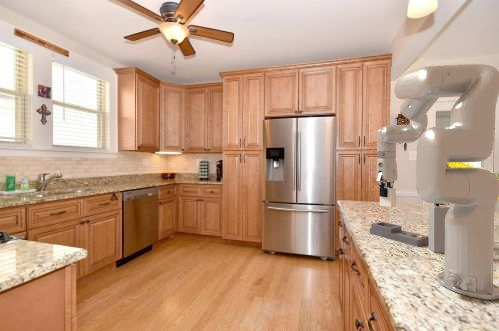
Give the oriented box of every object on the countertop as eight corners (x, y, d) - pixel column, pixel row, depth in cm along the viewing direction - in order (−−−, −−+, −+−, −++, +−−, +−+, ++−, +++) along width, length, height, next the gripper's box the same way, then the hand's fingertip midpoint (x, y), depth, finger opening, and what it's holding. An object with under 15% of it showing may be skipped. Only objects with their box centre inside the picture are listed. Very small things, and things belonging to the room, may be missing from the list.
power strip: (417, 247, 93) (417, 235, 93) (369, 234, 110) (369, 223, 110) (428, 243, 97) (429, 231, 97) (381, 231, 115) (381, 221, 115)
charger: (391, 207, 104) (391, 188, 103) (379, 205, 108) (379, 187, 108) (395, 206, 106) (396, 188, 106) (384, 204, 110) (384, 187, 110)
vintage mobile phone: (449, 253, 86) (450, 184, 85) (434, 252, 87) (434, 184, 86) (443, 249, 89) (443, 183, 89) (428, 249, 90) (428, 183, 90)
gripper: (385, 155, 99) (385, 199, 99) (404, 155, 109) (404, 195, 109) (367, 155, 106) (367, 196, 106) (387, 156, 115) (387, 194, 115)
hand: (386, 195), depth 107 cm, fingers closed on charger, 4 cm apart
